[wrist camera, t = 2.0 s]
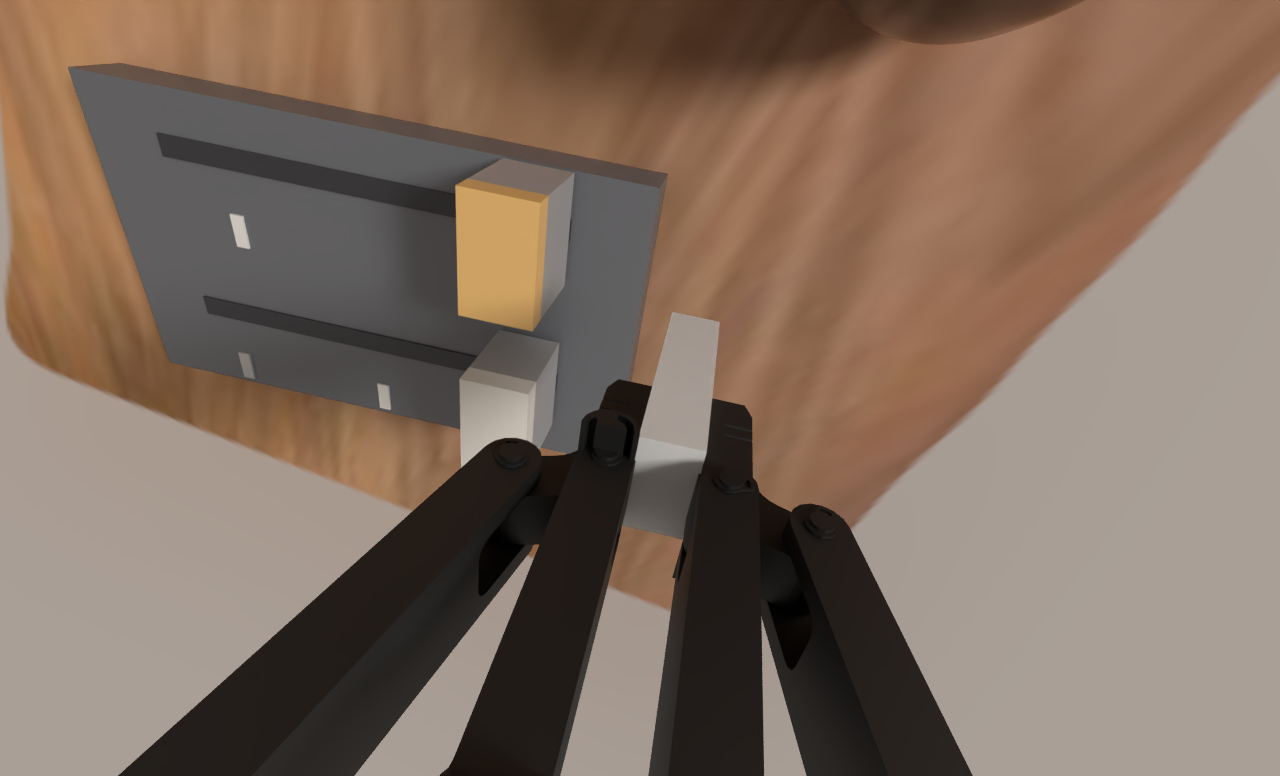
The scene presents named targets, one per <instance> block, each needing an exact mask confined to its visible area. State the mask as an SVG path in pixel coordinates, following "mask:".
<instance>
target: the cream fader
mask: <svg viewBox="0 0 1280 776" xmlns="http://www.w3.org/2000/svg"><path fill="white" fill-rule="evenodd" d="M558 352H559V343H558V342H553V341H548V340H544V339H539V338H535V337H530V336H526V335H521V334H517V333H512V332H508V331H503V330H499V331H498V332H497V333H496V334H495V336H494V337H493V338H492V339H491V341H490V342H489V343H488V344H487V345H486V347H485V348H484V349H483V350H482V352H481V353H480V354H479V355H478V357H477V358H476V359H475V360H474V362H473V363H472V364H471V365H470V367H469V368H468V369H467V370H466V371H465V373H464V374H463V375H462V376H461V378H460V379H459V382H460V430H461V468H462V467H463V466H464V465H465V464H466V463H467V462H468V461H469V460H470V459H472V458H473V457H474V456H475V455H476V454H477V453H478V452H479V451H481V450H482V449H483V448H484V447H485V446H486V445H488V444H490V443H491V442H493V441H495V440H499V439H503V438H519V439H523V440H527V441H529V442H531V443H532V444H534V445H536V446H537V448H538V449H539V450H540V448H541V446H542V444H543V442H544V440H545V438H546V436H547V434H548V432H549V430H550V428H551V426H552V419H553V408H554V397H555V386H556V374H557V363H558Z"/></svg>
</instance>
